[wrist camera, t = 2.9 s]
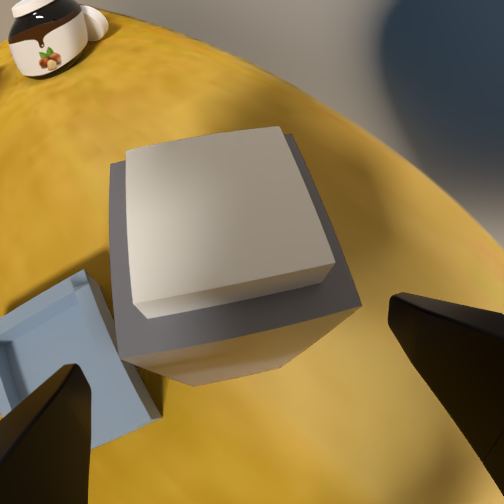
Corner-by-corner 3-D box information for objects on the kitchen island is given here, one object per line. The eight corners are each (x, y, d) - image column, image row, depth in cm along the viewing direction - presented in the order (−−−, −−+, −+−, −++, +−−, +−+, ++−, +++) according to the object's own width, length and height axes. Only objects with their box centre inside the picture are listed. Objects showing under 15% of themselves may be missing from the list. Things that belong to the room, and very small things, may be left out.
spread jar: (17, 89, 29) (-10, 21, 18) (48, 49, 34) (30, -10, 23) (94, 68, 30) (74, -13, 19) (116, 32, 35) (105, -35, 24)
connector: (280, 367, 17) (382, 289, 5) (192, 386, 16) (99, 349, 5) (259, 286, 19) (297, 106, 8) (176, 303, 18) (100, 137, 7)
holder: (162, 417, 15) (151, 419, 13) (46, 466, 13) (25, 471, 11) (99, 284, 18) (83, 269, 16) (0, 341, 16) (-22, 331, 14)
